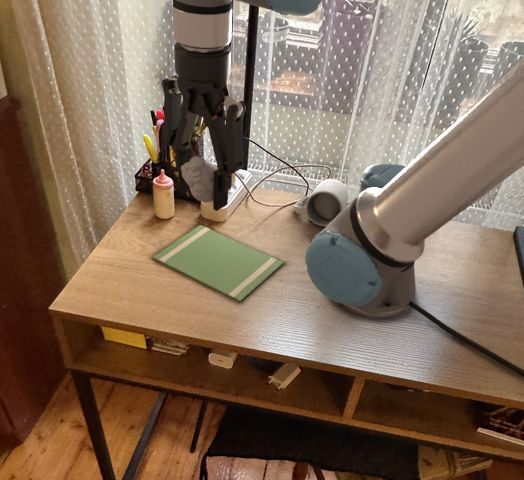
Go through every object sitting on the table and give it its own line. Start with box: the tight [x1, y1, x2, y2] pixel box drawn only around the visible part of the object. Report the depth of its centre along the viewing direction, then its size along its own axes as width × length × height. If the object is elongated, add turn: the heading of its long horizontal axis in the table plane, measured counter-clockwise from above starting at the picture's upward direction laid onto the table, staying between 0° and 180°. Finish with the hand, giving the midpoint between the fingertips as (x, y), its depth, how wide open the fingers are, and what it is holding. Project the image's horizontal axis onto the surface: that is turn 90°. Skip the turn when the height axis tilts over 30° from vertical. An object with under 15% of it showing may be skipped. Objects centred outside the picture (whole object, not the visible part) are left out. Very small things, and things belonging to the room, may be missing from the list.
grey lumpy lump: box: [181, 156, 218, 203], centre depth 86 cm, size 6×7×7 cm
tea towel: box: [152, 224, 284, 303], centre depth 101 cm, size 20×14×1 cm
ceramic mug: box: [293, 178, 349, 227], centre depth 112 cm, size 11×8×8 cm
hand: (203, 198), depth 88 cm, fingers closed on grey lumpy lump, 6 cm apart
